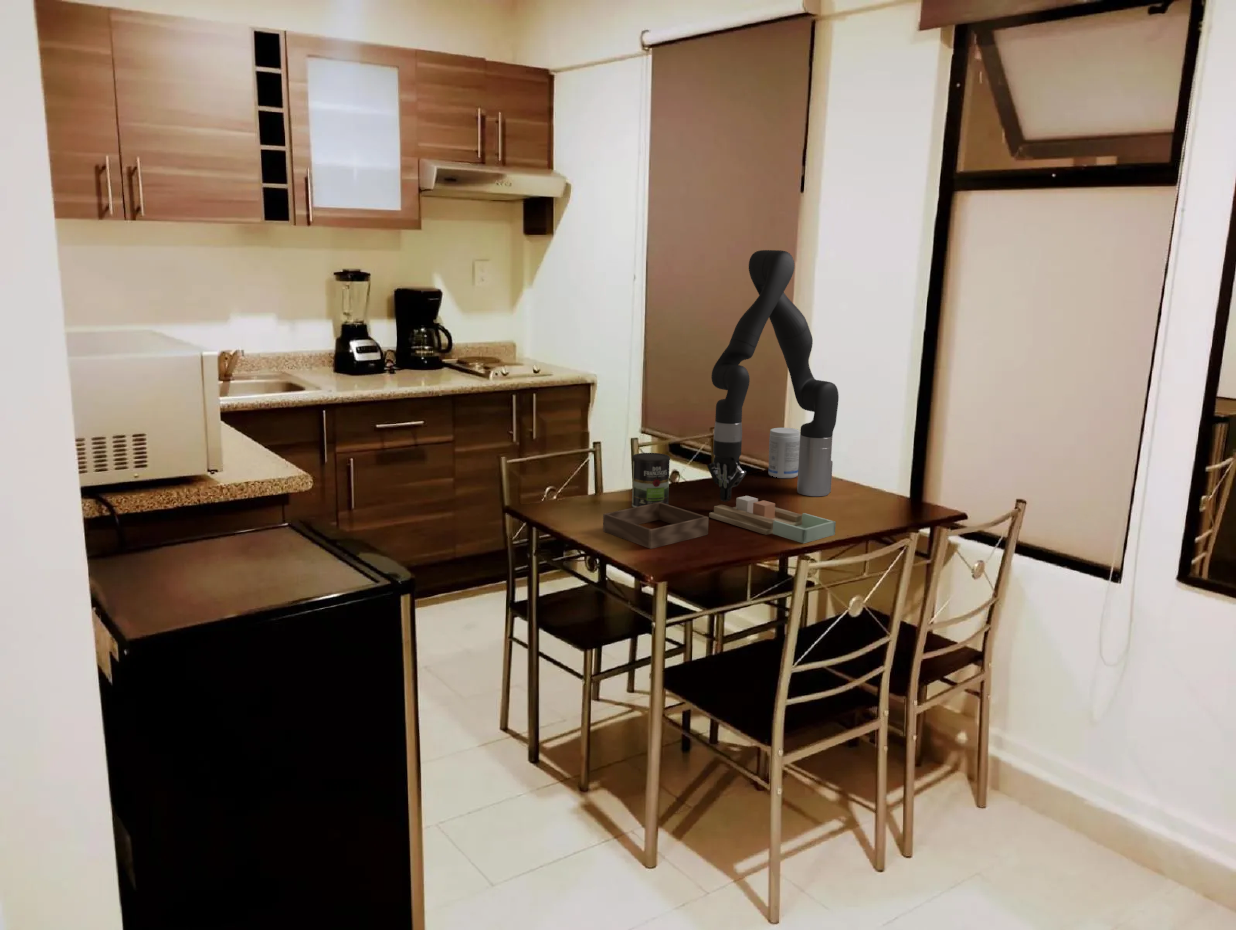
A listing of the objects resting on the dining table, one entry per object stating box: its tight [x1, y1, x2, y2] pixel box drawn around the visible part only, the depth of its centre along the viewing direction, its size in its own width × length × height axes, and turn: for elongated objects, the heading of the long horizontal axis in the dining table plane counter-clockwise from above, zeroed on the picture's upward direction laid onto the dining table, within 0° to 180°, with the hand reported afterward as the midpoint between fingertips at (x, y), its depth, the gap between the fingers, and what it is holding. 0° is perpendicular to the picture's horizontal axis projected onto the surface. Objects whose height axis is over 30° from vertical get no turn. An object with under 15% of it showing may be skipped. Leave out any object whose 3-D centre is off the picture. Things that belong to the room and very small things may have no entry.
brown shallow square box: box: [602, 502, 710, 549], centre depth 236 cm, size 19×18×4 cm
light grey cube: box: [735, 495, 759, 514], centre depth 251 cm, size 4×4×4 cm
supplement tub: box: [767, 427, 801, 479], centre depth 298 cm, size 10×10×15 cm
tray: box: [772, 512, 837, 544], centre depth 237 cm, size 12×10×3 cm
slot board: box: [708, 504, 802, 535], centre depth 249 cm, size 16×20×3 cm
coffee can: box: [631, 452, 671, 508], centre depth 260 cm, size 10×10×14 cm
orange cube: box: [753, 500, 776, 519], centre depth 247 cm, size 4×4×4 cm
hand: (725, 500), depth 257 cm, fingers closed
